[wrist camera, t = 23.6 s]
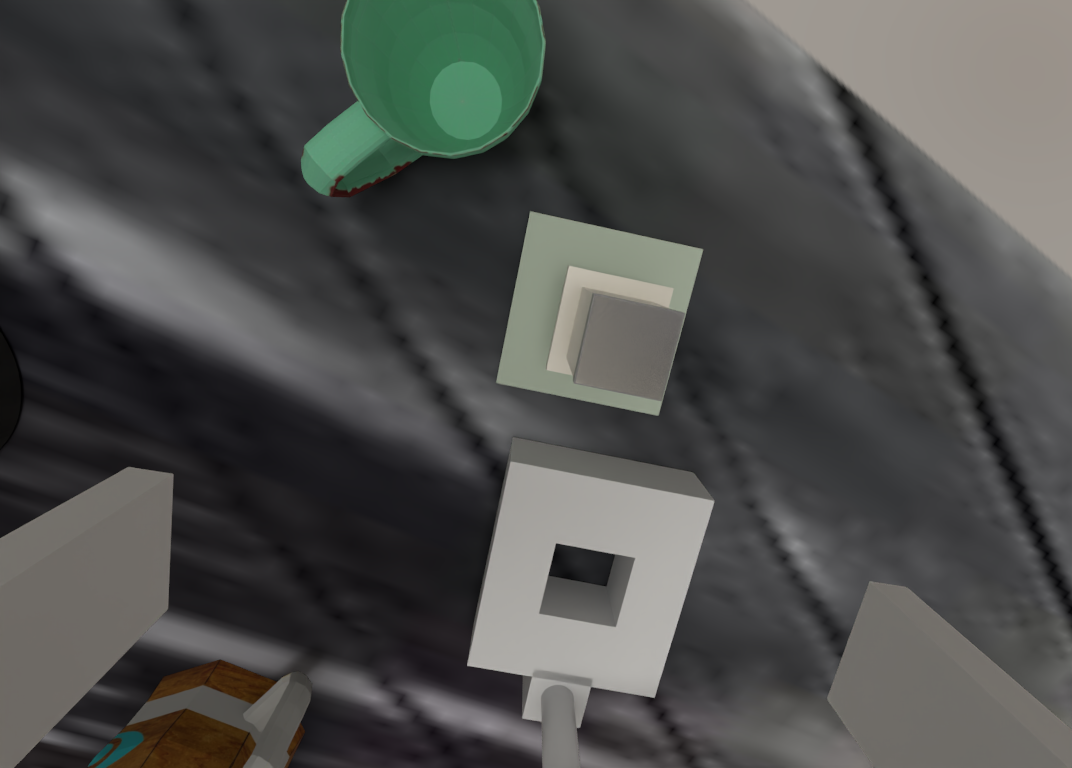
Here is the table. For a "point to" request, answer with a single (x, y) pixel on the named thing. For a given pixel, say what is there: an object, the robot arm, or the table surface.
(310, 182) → the mug
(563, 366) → the plug
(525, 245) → the mat
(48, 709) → the robot arm
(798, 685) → the table surface
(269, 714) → the mug
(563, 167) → the table surface
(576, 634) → the socket
